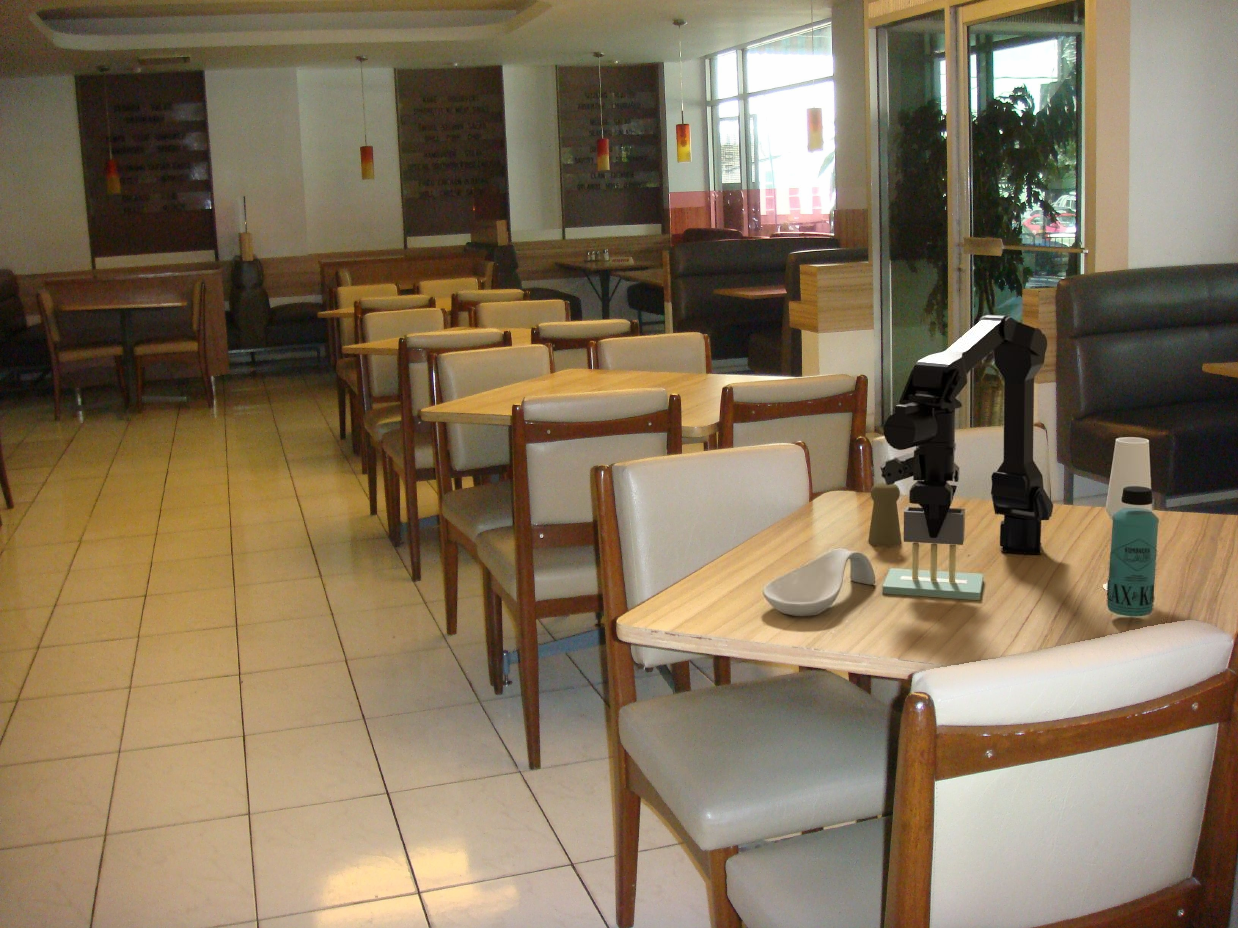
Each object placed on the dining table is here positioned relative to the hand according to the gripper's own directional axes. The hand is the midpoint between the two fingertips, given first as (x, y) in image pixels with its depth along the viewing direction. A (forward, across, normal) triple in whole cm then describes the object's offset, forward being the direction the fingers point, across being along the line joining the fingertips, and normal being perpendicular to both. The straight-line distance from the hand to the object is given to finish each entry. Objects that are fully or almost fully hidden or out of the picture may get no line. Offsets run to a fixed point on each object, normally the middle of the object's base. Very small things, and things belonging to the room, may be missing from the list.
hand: (934, 534), depth 194 cm
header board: (+9, 0, 0) cm, 9 cm away
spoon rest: (+9, +10, -16) cm, 21 cm away
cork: (+9, -25, -11) cm, 29 cm away
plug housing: (+1, 0, 0) cm, 1 cm away
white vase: (+9, -6, +29) cm, 31 cm away
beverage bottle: (+9, +9, +29) cm, 32 cm away
